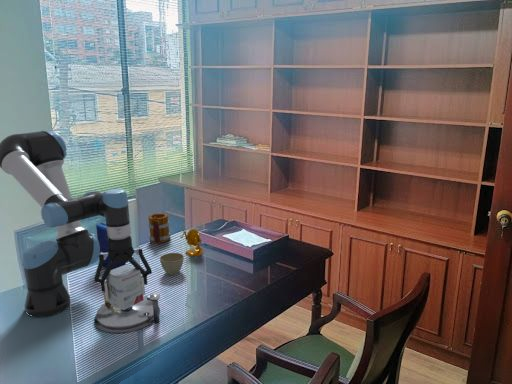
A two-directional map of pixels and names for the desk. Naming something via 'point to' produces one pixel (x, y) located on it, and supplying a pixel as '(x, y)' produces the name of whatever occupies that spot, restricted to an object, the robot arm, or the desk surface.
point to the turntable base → (155, 319)
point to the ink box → (124, 287)
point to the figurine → (193, 242)
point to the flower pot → (172, 263)
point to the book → (105, 244)
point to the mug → (159, 228)
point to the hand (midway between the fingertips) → (125, 296)
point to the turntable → (125, 314)
